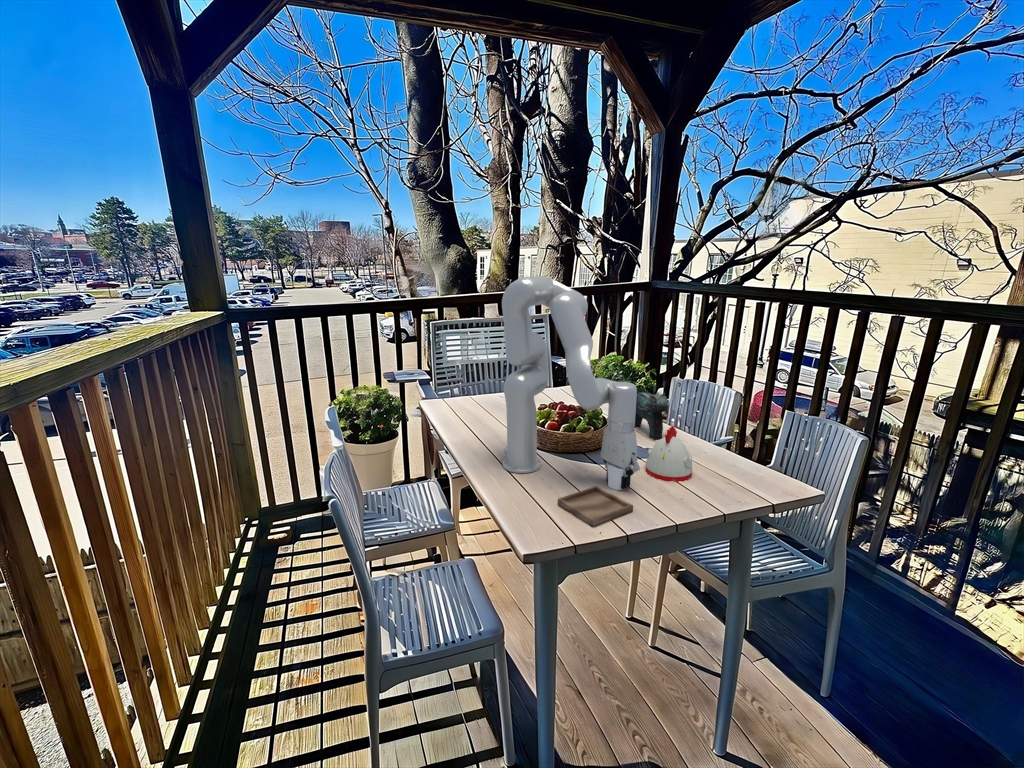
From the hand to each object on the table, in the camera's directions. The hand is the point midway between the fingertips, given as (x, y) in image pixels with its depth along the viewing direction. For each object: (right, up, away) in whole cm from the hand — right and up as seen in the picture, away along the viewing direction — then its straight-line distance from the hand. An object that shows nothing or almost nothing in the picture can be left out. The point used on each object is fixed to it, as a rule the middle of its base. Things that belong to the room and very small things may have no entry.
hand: (617, 483), depth 140 cm
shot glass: (0, -1, 0) cm, 1 cm away
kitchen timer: (+18, +1, +9) cm, 20 cm away
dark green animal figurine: (+21, +10, +45) cm, 50 cm away
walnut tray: (-9, -4, -13) cm, 16 cm away
